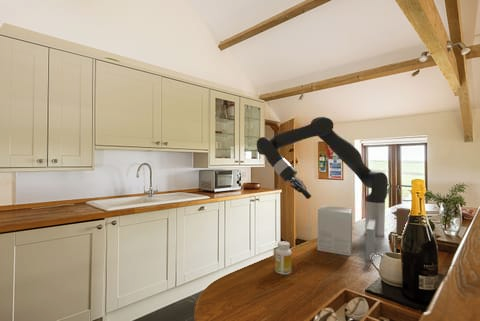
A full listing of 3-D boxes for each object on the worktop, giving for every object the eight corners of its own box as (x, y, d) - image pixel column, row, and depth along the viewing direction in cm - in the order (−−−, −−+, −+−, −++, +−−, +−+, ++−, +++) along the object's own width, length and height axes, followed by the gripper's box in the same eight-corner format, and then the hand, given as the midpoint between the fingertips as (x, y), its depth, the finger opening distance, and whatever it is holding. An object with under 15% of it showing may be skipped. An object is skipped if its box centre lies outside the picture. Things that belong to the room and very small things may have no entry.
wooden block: (423, 253, 108) (424, 210, 108) (419, 255, 105) (420, 211, 105) (399, 247, 114) (400, 207, 114) (395, 249, 112) (396, 208, 112)
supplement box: (352, 246, 114) (353, 207, 114) (350, 256, 102) (351, 212, 102) (321, 242, 120) (322, 205, 120) (316, 250, 108) (317, 209, 108)
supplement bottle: (292, 269, 88) (292, 241, 88) (290, 276, 83) (290, 246, 83) (276, 267, 90) (277, 239, 90) (273, 273, 85) (274, 244, 85)
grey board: (369, 244, 118) (369, 218, 118) (375, 245, 117) (375, 219, 117) (365, 259, 99) (366, 228, 99) (372, 260, 98) (373, 229, 98)
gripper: (285, 164, 116) (312, 193, 110) (294, 164, 127) (319, 191, 121) (274, 175, 118) (299, 204, 112) (284, 174, 130) (307, 201, 124)
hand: (309, 197), depth 117 cm, fingers closed
